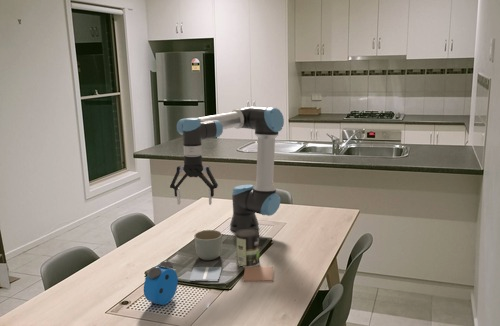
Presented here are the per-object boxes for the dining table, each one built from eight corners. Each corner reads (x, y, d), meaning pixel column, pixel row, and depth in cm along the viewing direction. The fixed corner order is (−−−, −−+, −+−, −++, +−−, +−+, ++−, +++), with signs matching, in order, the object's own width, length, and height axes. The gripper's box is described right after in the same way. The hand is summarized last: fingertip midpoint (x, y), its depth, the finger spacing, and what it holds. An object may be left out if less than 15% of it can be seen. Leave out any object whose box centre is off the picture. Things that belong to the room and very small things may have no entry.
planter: (226, 253, 215) (226, 231, 213) (216, 264, 203) (215, 241, 201) (202, 250, 219) (201, 228, 217) (190, 261, 207) (189, 238, 205)
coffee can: (261, 258, 208) (261, 229, 205) (257, 268, 198) (256, 237, 195) (239, 257, 210) (238, 227, 207) (233, 267, 201) (232, 236, 198)
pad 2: (245, 268, 199) (245, 266, 198) (273, 268, 198) (273, 266, 198) (243, 281, 187) (243, 279, 187) (273, 281, 186) (273, 279, 186)
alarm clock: (166, 292, 180) (164, 256, 176) (179, 295, 177) (177, 259, 174) (144, 308, 168) (141, 269, 165) (157, 312, 165) (155, 273, 162)
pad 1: (194, 268, 200) (193, 266, 199) (221, 268, 199) (221, 266, 199) (189, 281, 188) (189, 279, 188) (218, 281, 187) (218, 279, 187)
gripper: (161, 156, 192) (163, 206, 196) (221, 156, 191) (222, 206, 195) (165, 153, 199) (167, 201, 204) (223, 153, 198) (224, 201, 202)
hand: (194, 203), depth 199 cm, fingers open, 13 cm apart
